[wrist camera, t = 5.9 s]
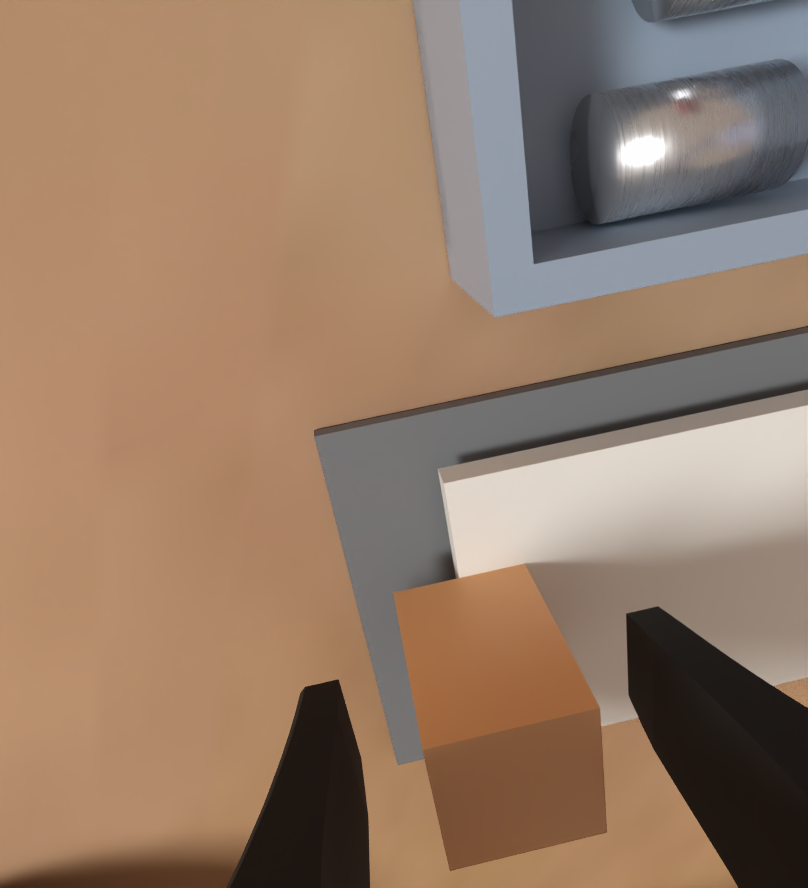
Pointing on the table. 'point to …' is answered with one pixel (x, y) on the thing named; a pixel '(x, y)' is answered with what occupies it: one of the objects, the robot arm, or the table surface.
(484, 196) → the tub
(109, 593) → the table surface
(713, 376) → the mat
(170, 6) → the table surface
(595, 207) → the dowel
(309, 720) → the robot arm
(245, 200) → the table surface
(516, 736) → the lid
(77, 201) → the table surface
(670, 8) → the dowel
